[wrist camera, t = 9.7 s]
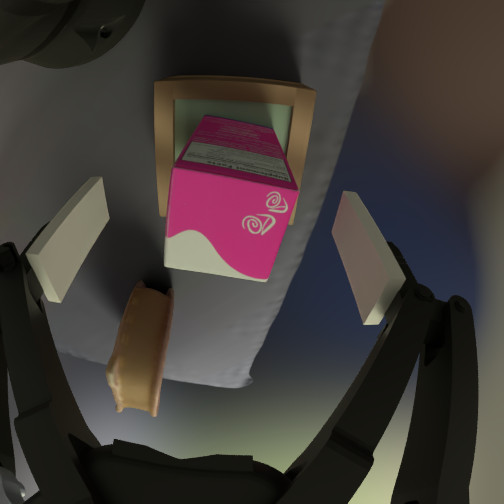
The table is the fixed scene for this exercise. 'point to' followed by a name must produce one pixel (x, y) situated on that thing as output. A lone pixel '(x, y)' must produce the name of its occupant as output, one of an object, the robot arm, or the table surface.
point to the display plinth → (229, 116)
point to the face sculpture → (141, 349)
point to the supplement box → (229, 200)
